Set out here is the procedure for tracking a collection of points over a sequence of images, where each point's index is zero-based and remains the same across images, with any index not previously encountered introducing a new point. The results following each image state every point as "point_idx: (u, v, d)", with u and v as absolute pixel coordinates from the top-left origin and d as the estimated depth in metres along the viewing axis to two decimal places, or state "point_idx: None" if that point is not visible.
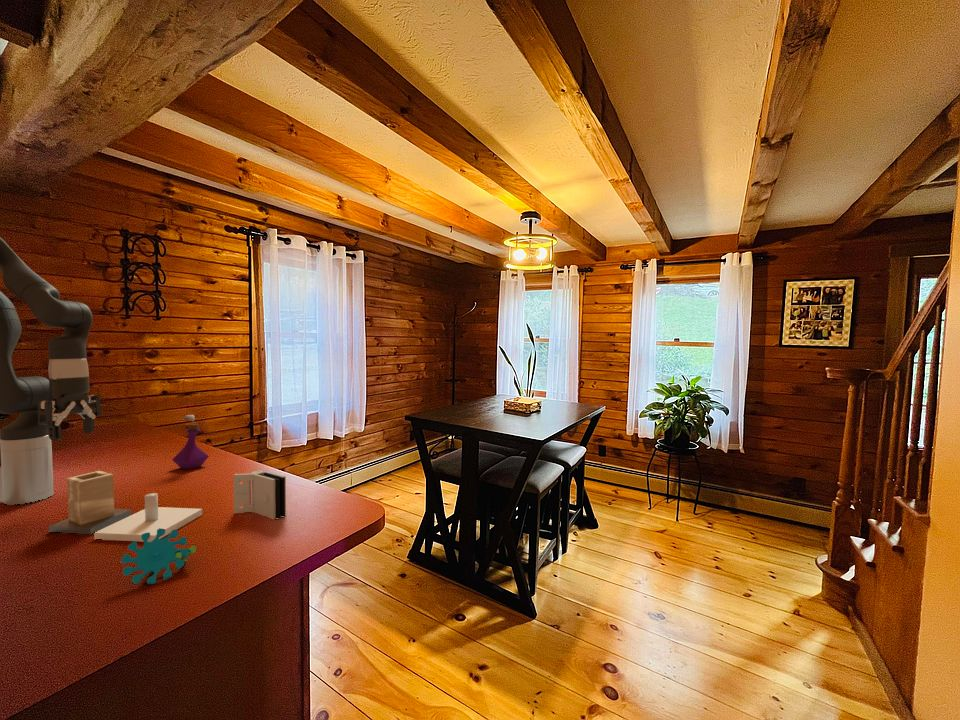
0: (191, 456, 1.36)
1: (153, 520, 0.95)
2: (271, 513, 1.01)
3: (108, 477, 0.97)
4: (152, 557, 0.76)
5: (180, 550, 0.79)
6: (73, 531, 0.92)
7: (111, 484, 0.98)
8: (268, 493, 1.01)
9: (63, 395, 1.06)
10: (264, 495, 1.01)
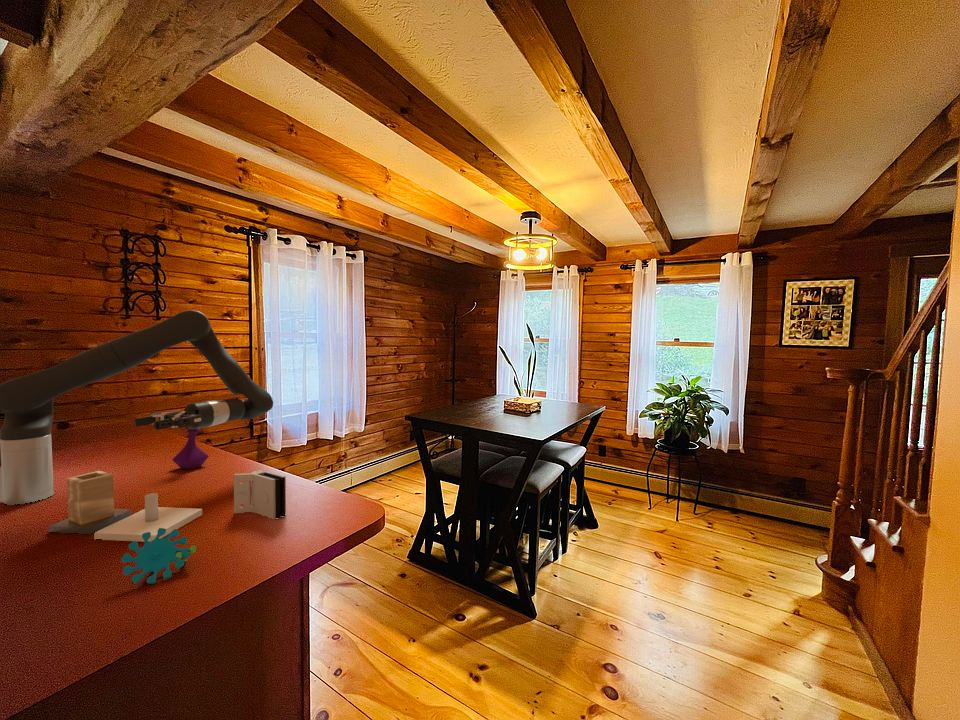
0: (191, 456, 1.36)
1: (153, 520, 0.95)
2: (271, 513, 1.01)
3: (108, 477, 0.97)
4: (152, 557, 0.76)
5: (180, 550, 0.79)
6: (73, 531, 0.92)
7: (111, 484, 0.98)
8: (268, 493, 1.01)
9: None
10: (264, 495, 1.01)
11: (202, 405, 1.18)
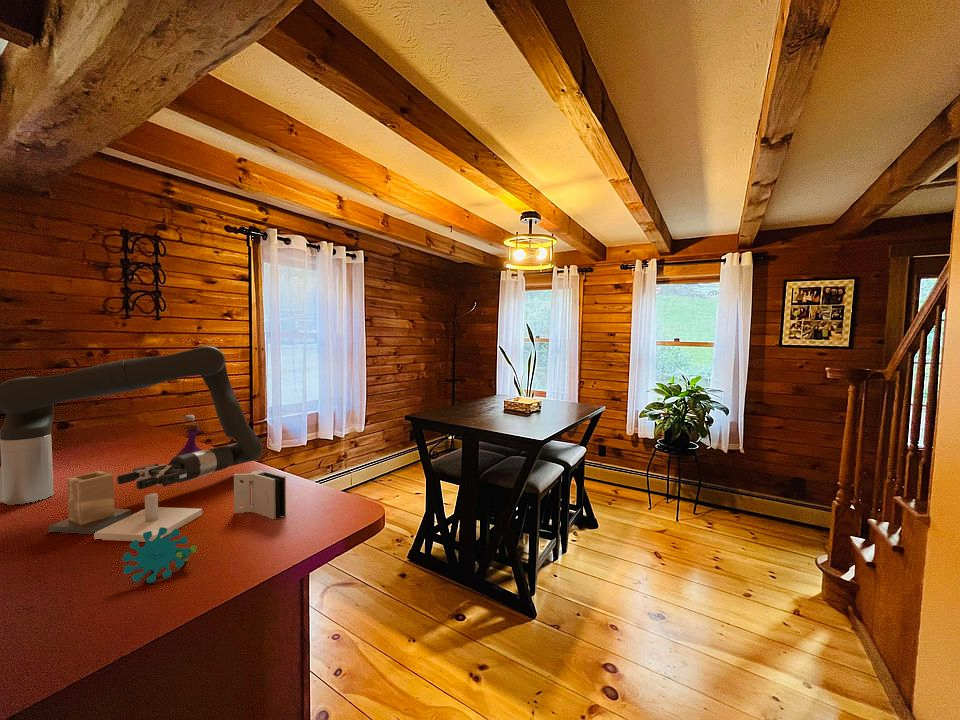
0: None
1: (153, 520, 0.95)
2: (271, 513, 1.01)
3: (108, 477, 0.97)
4: (152, 556, 0.76)
5: (180, 549, 0.79)
6: (73, 531, 0.92)
7: (111, 484, 0.98)
8: (268, 493, 1.01)
9: None
10: (264, 495, 1.01)
11: (188, 458, 1.15)
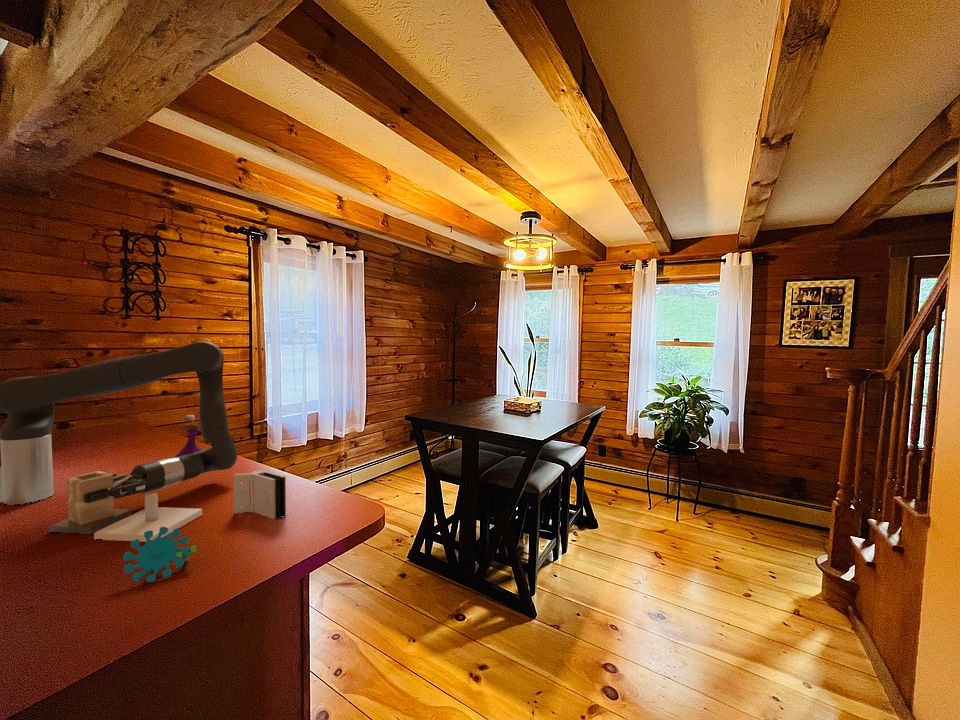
0: None
1: (153, 520, 0.95)
2: (271, 513, 1.01)
3: (108, 477, 0.97)
4: (153, 555, 0.76)
5: (181, 549, 0.79)
6: (73, 531, 0.92)
7: (111, 484, 0.98)
8: (268, 493, 1.01)
9: None
10: (264, 495, 1.01)
11: (151, 467, 1.06)
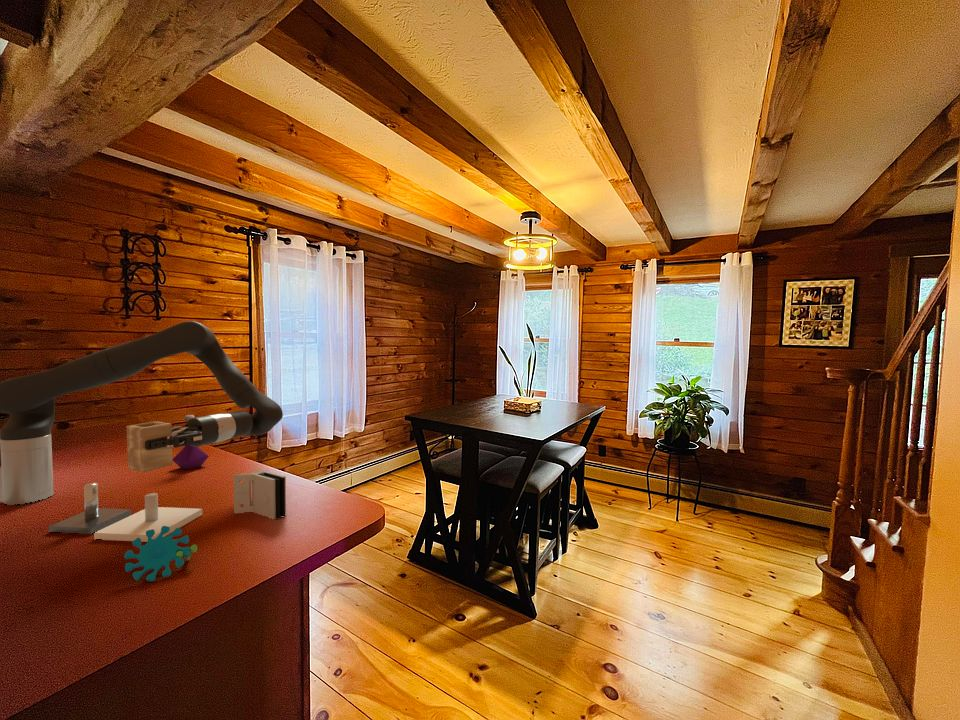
0: (191, 456, 1.36)
1: (153, 520, 0.95)
2: (271, 513, 1.01)
3: (167, 426, 0.96)
4: (153, 554, 0.77)
5: (181, 549, 0.79)
6: (73, 531, 0.92)
7: (169, 433, 0.96)
8: (268, 493, 1.01)
9: None
10: (264, 495, 1.01)
11: (206, 420, 1.05)
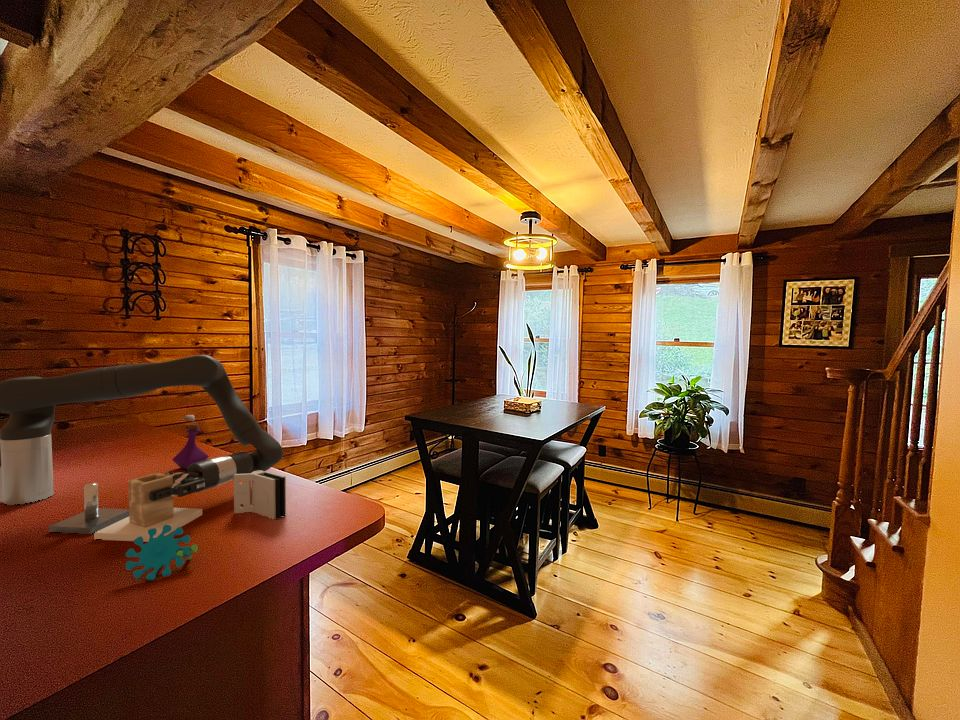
0: (191, 456, 1.36)
1: None
2: (271, 513, 1.01)
3: (168, 479, 0.96)
4: (154, 553, 0.77)
5: (182, 548, 0.79)
6: (73, 531, 0.92)
7: None
8: (268, 493, 1.01)
9: None
10: (264, 495, 1.01)
11: (206, 465, 1.05)
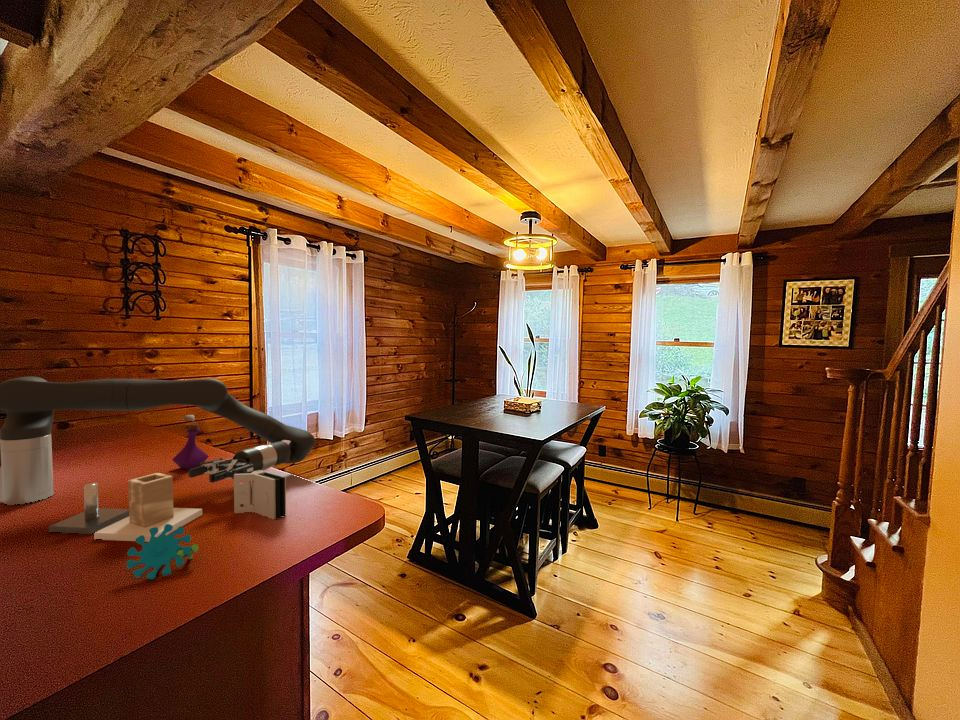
0: (191, 456, 1.36)
1: None
2: (271, 513, 1.01)
3: (168, 479, 0.96)
4: (155, 552, 0.77)
5: (182, 548, 0.80)
6: (73, 531, 0.92)
7: (171, 486, 0.97)
8: (268, 493, 1.01)
9: None
10: (264, 495, 1.01)
11: (252, 452, 1.17)
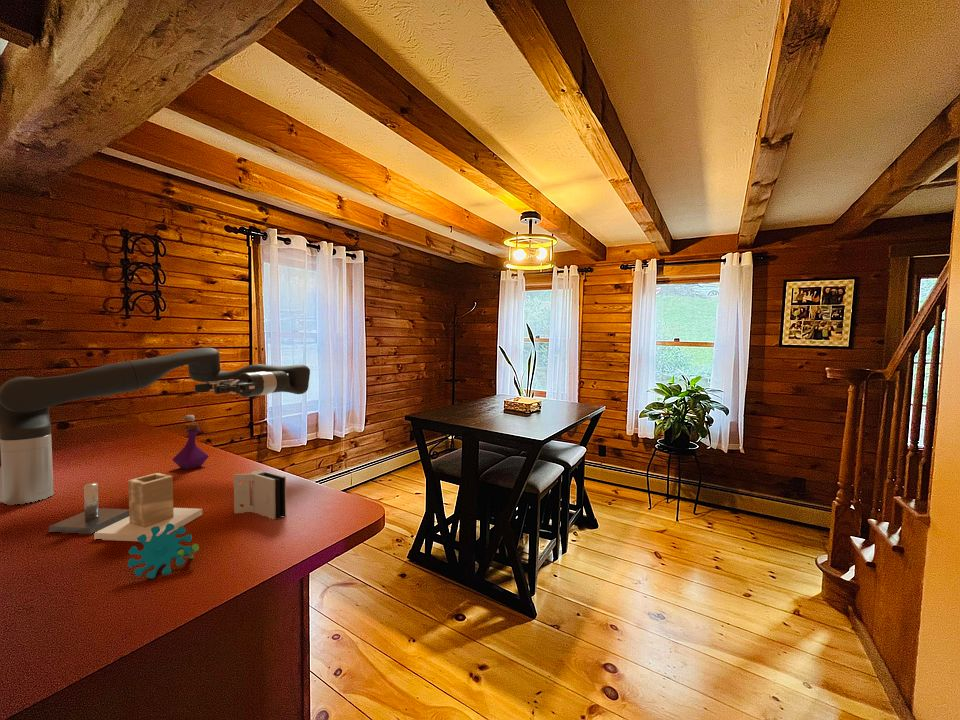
0: (191, 456, 1.36)
1: None
2: (271, 513, 1.01)
3: (168, 479, 0.96)
4: (156, 551, 0.78)
5: (183, 547, 0.80)
6: (73, 531, 0.92)
7: (171, 486, 0.97)
8: (268, 493, 1.01)
9: None
10: (264, 495, 1.01)
11: (253, 375, 1.26)
